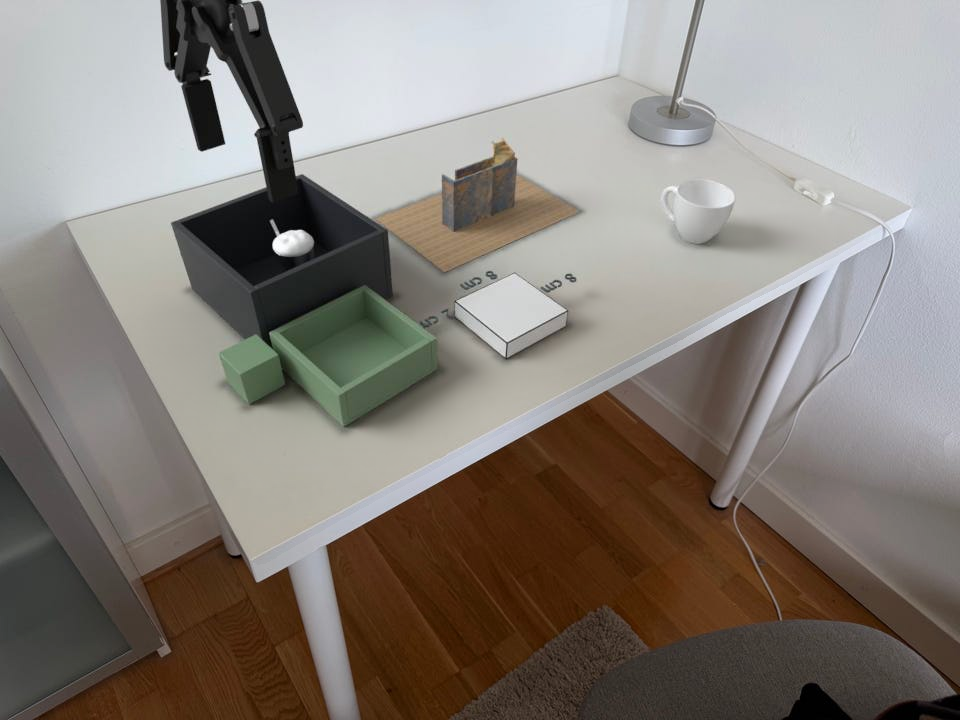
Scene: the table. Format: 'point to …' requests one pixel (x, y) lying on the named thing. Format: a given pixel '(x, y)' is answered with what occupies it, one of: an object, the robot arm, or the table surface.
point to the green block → (252, 368)
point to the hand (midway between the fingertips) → (246, 170)
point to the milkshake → (292, 248)
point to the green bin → (354, 353)
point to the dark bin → (253, 265)
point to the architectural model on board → (476, 212)
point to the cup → (698, 208)
